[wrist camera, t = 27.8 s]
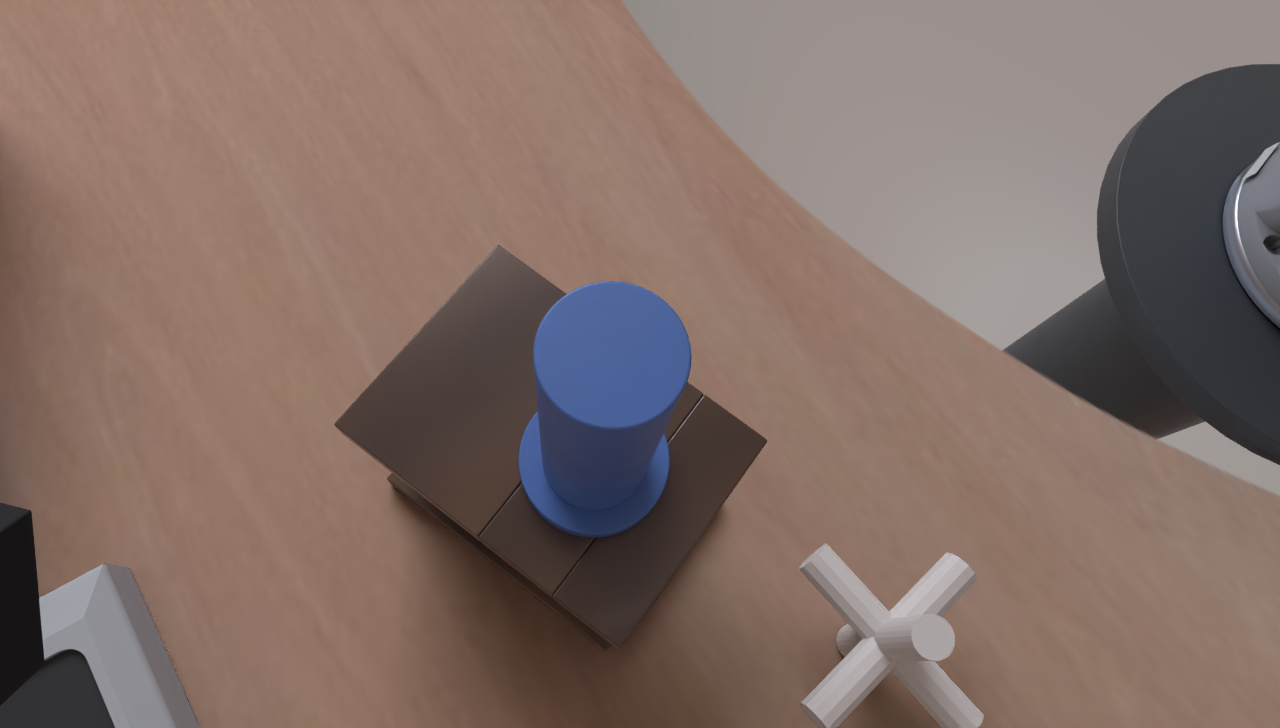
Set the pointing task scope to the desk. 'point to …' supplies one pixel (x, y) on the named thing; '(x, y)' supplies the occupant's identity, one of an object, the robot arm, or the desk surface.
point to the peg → (603, 408)
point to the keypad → (99, 662)
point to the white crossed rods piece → (890, 641)
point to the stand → (489, 450)
